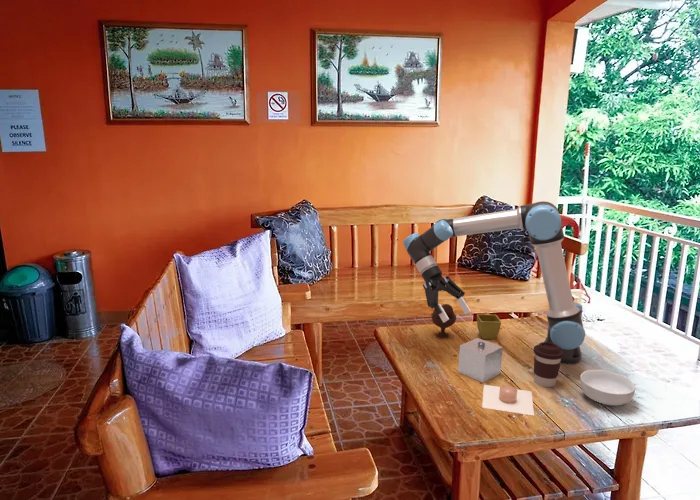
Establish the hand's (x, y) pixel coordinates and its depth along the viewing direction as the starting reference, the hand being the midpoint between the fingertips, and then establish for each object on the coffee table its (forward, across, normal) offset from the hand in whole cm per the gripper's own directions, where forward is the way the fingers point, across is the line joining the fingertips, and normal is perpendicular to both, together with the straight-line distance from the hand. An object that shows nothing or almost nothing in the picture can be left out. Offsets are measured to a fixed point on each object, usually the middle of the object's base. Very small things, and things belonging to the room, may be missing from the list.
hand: (457, 316), depth 195 cm
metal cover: (+22, 0, -6) cm, 22 cm away
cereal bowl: (+49, -18, +21) cm, 56 cm away
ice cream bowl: (0, -19, -29) cm, 35 cm away
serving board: (+34, +9, +7) cm, 36 cm away
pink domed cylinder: (+33, +9, +7) cm, 35 cm away
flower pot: (+9, -34, -19) cm, 40 cm away
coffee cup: (+36, -12, +8) cm, 39 cm away
